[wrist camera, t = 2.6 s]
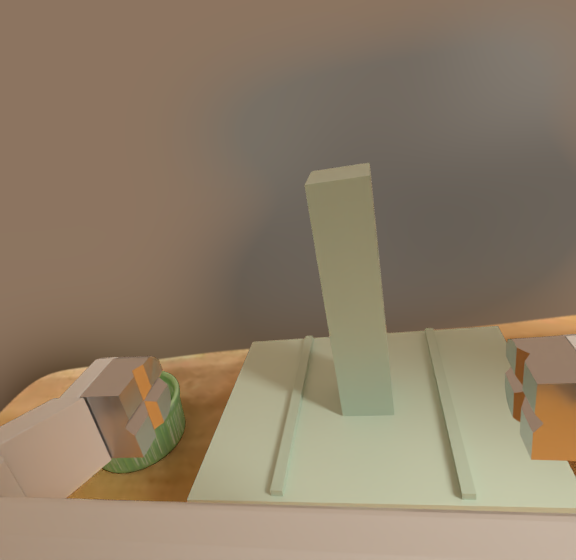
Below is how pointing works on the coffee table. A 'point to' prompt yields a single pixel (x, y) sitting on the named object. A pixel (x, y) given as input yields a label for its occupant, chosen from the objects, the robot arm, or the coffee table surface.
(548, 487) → the grooved base with post
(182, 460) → the coffee table surface
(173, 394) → the ramekin
